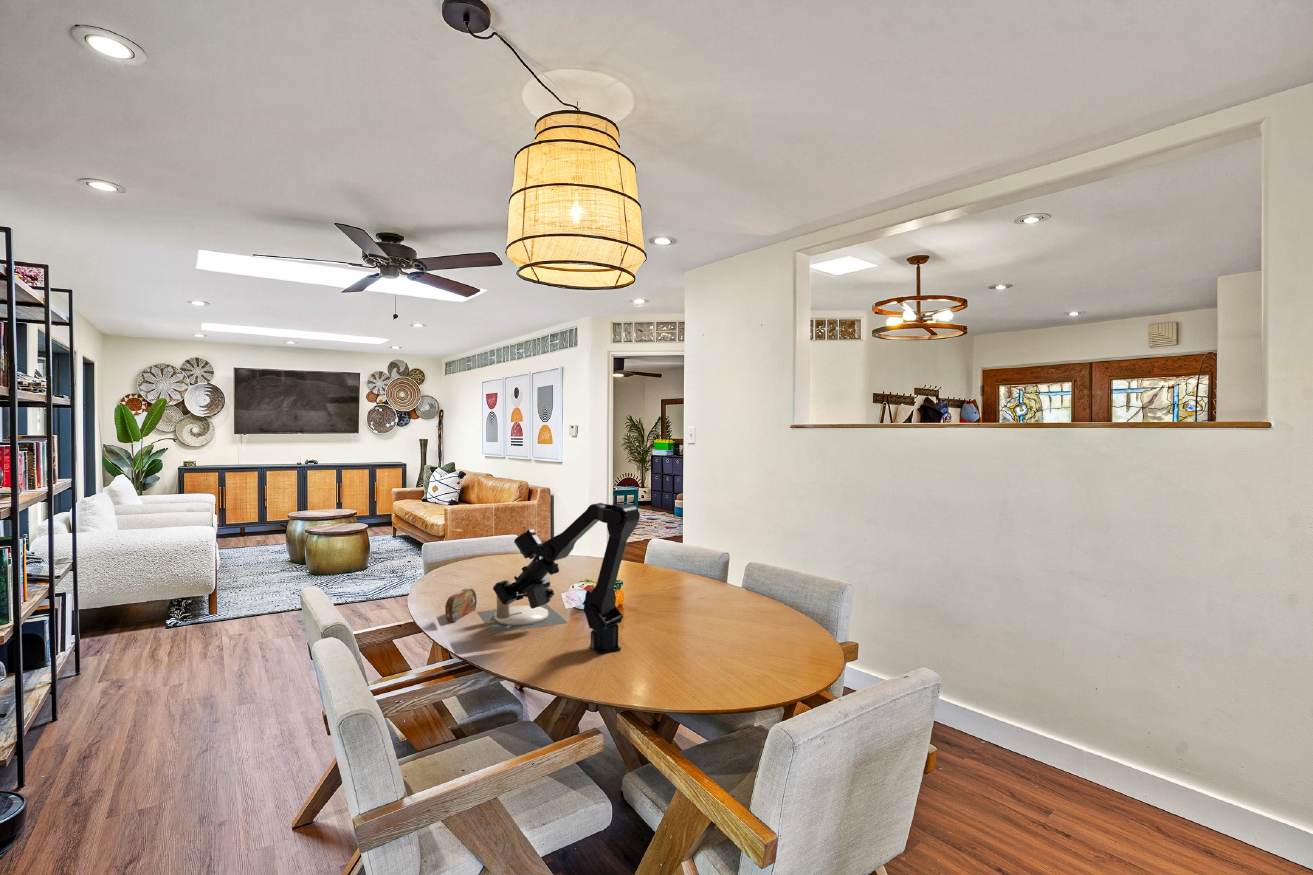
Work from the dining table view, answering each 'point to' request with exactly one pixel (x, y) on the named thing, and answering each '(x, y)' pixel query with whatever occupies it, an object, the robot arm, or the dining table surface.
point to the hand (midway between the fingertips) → (507, 602)
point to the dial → (519, 614)
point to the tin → (460, 604)
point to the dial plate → (497, 627)
